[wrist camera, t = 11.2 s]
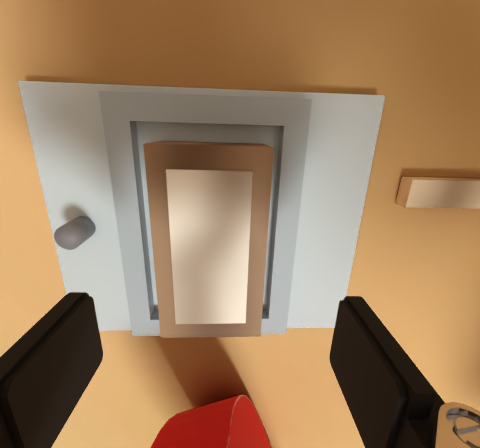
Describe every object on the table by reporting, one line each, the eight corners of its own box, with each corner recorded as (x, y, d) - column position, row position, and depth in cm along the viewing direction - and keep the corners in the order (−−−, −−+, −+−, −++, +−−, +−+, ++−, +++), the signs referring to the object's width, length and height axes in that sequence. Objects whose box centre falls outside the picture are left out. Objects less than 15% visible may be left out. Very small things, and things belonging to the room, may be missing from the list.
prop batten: (503, 178, 20) (520, 181, 19) (494, 204, 20) (510, 208, 19) (401, 176, 19) (412, 179, 18) (395, 202, 20) (405, 207, 19)
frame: (263, 143, 17) (274, 147, 13) (254, 299, 21) (260, 338, 17) (161, 140, 17) (142, 144, 13) (172, 300, 21) (160, 339, 17)
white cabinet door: (376, 97, 17) (406, 91, 15) (335, 319, 23) (350, 345, 21) (29, 83, 16) (-12, 73, 13) (81, 322, 22) (59, 350, 19)
